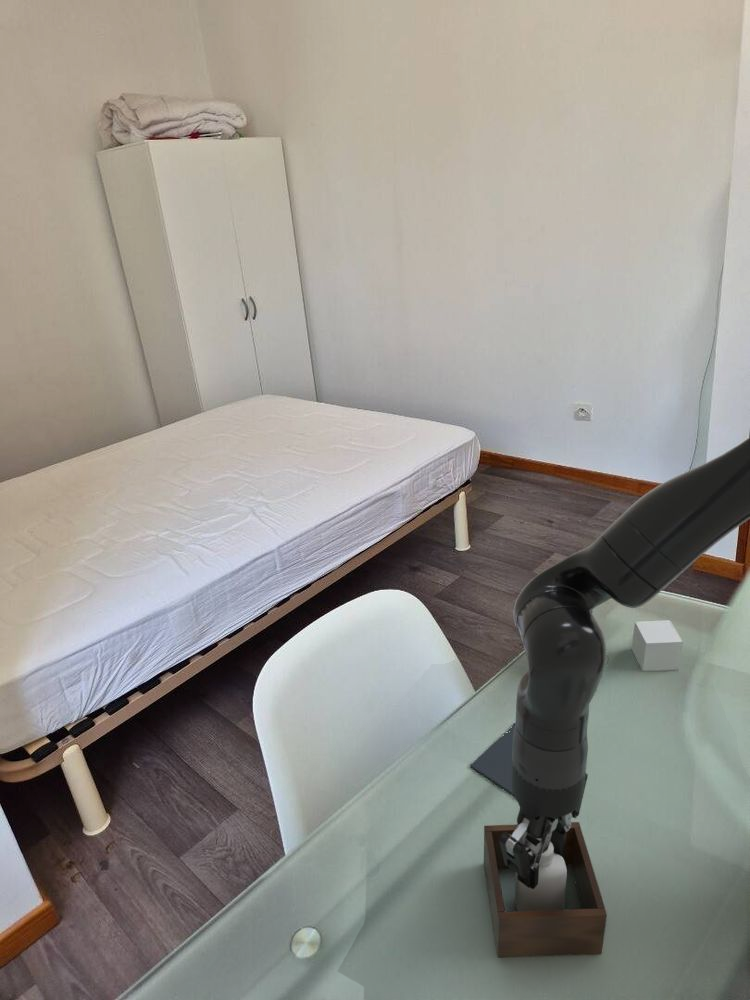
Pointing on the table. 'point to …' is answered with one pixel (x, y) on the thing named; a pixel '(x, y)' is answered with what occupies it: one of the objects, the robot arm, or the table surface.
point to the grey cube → (656, 645)
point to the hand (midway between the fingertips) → (541, 864)
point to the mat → (497, 761)
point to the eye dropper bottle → (544, 885)
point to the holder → (546, 927)
